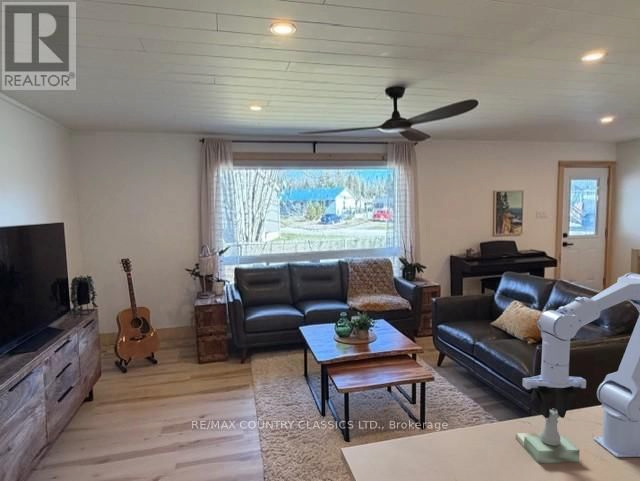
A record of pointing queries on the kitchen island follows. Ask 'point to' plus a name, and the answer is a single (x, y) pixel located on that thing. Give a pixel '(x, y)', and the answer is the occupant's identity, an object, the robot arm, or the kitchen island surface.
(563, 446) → the stepped riser
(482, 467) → the kitchen island surface
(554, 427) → the rook chess piece
